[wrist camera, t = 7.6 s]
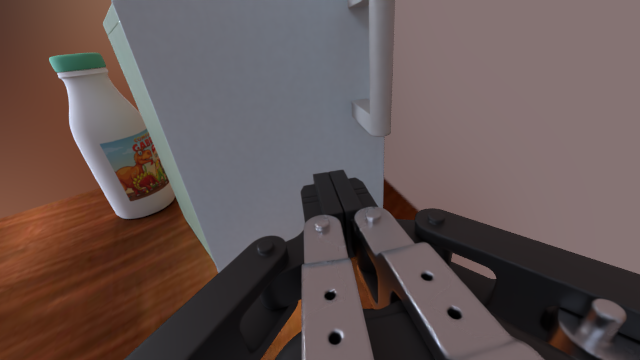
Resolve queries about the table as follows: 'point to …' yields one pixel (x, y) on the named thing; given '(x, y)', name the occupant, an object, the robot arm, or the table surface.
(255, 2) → the cabinet door
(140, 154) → the milk bottle
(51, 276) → the table surface
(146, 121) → the cabinet
